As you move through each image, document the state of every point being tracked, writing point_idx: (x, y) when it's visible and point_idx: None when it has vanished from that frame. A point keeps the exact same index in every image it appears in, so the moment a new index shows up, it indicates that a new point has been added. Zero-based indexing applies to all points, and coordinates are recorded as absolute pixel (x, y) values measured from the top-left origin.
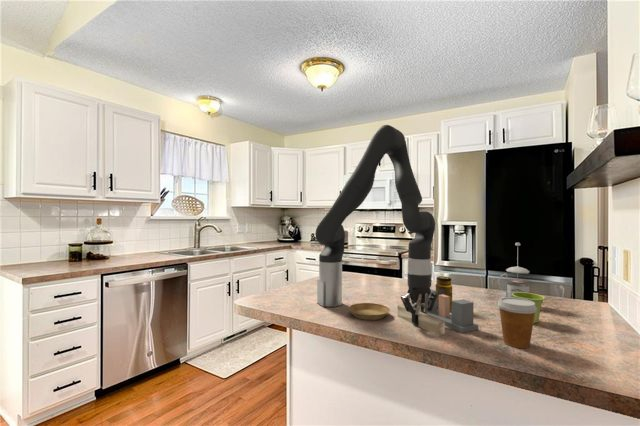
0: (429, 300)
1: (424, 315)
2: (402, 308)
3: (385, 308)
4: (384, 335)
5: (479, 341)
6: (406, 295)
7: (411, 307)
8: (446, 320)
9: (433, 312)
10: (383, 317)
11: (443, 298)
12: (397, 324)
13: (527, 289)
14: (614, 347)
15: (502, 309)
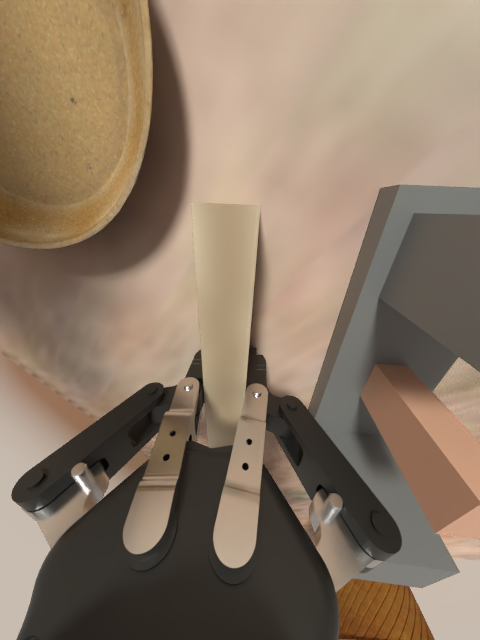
0: (308, 472)
1: (221, 422)
2: (199, 273)
3: (142, 46)
4: (57, 369)
5: (284, 474)
6: (46, 530)
7: (140, 442)
8: (330, 413)
9: (406, 322)
10: (103, 195)
11: (432, 505)
12: (143, 314)
13: None
14: (469, 552)
15: (338, 637)
